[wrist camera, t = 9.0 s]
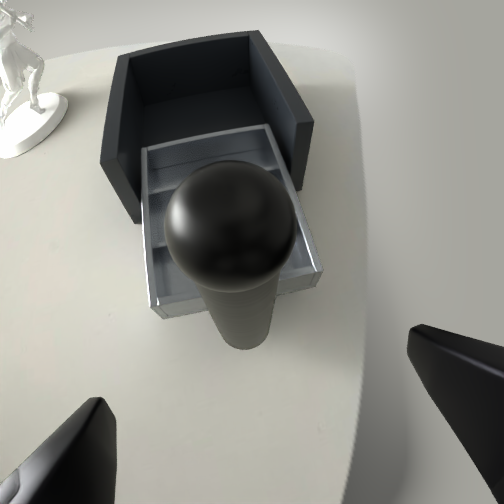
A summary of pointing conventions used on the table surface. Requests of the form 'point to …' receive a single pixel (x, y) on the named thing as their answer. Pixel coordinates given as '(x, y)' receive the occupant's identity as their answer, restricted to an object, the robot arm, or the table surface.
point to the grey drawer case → (199, 104)
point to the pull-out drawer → (224, 231)
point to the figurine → (11, 70)
